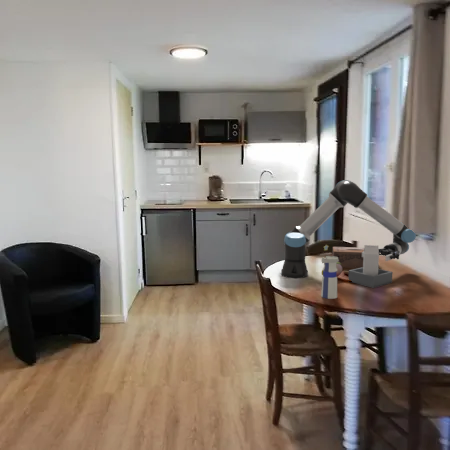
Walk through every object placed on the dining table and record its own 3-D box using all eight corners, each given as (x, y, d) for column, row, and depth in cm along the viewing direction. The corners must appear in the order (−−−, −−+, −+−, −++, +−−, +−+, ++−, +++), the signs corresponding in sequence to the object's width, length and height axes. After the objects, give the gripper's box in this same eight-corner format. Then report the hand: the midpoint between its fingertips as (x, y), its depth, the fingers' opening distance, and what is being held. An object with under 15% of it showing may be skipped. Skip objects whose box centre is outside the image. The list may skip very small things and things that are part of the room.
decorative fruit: (335, 275, 260) (336, 258, 258) (344, 279, 252) (345, 261, 251) (321, 277, 256) (322, 259, 255) (330, 281, 249) (330, 263, 247)
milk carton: (377, 282, 242) (379, 247, 239) (363, 281, 244) (365, 246, 241) (376, 278, 249) (377, 244, 246) (362, 278, 250) (363, 243, 248)
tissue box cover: (374, 263, 289) (374, 248, 287) (377, 269, 275) (378, 252, 273) (332, 262, 294) (332, 246, 292) (333, 267, 280) (333, 251, 278)
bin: (373, 287, 235) (373, 276, 234) (348, 281, 248) (348, 270, 247) (392, 282, 244) (392, 271, 244) (367, 276, 257) (367, 266, 256)
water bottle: (316, 296, 222) (317, 245, 218) (326, 292, 228) (327, 243, 224) (331, 300, 216) (332, 248, 212) (340, 296, 222) (342, 245, 218)
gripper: (413, 260, 252) (396, 267, 237) (371, 253, 270) (352, 259, 255) (414, 246, 251) (397, 252, 236) (371, 241, 268) (353, 246, 254)
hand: (374, 256), depth 245 cm, fingers open, 13 cm apart
